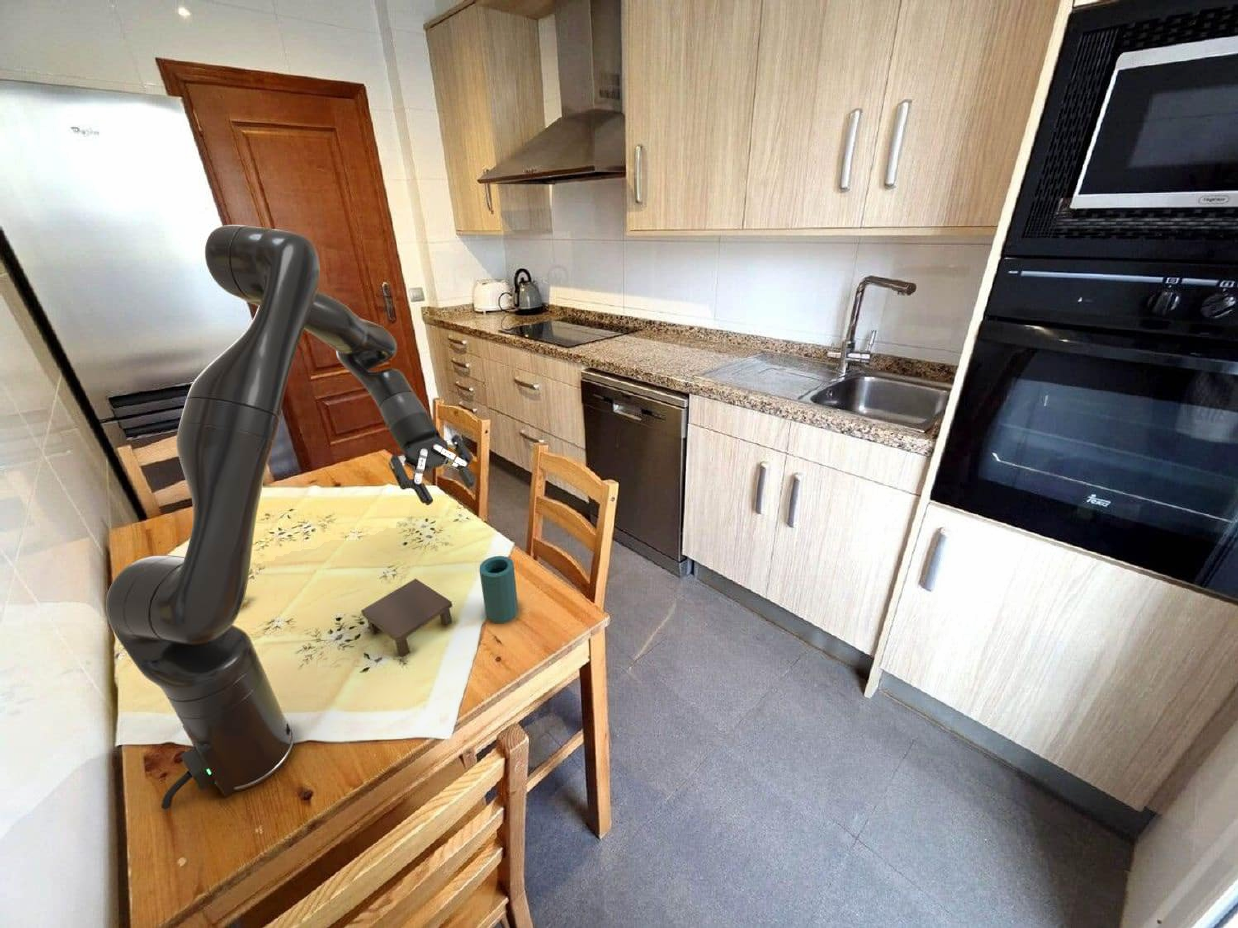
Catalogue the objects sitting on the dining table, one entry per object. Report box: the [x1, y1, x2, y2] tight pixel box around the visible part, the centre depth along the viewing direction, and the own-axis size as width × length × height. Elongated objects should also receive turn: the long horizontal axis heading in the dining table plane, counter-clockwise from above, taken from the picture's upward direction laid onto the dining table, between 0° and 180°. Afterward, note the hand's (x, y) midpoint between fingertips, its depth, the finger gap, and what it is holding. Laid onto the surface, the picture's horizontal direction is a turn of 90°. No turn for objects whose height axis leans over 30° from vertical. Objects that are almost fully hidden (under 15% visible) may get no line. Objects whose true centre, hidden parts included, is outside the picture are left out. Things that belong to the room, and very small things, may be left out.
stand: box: [360, 578, 453, 658], centre depth 91 cm, size 11×11×5 cm
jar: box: [478, 555, 519, 625], centre depth 93 cm, size 6×6×11 cm
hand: (451, 494), depth 93 cm, fingers open, 8 cm apart
